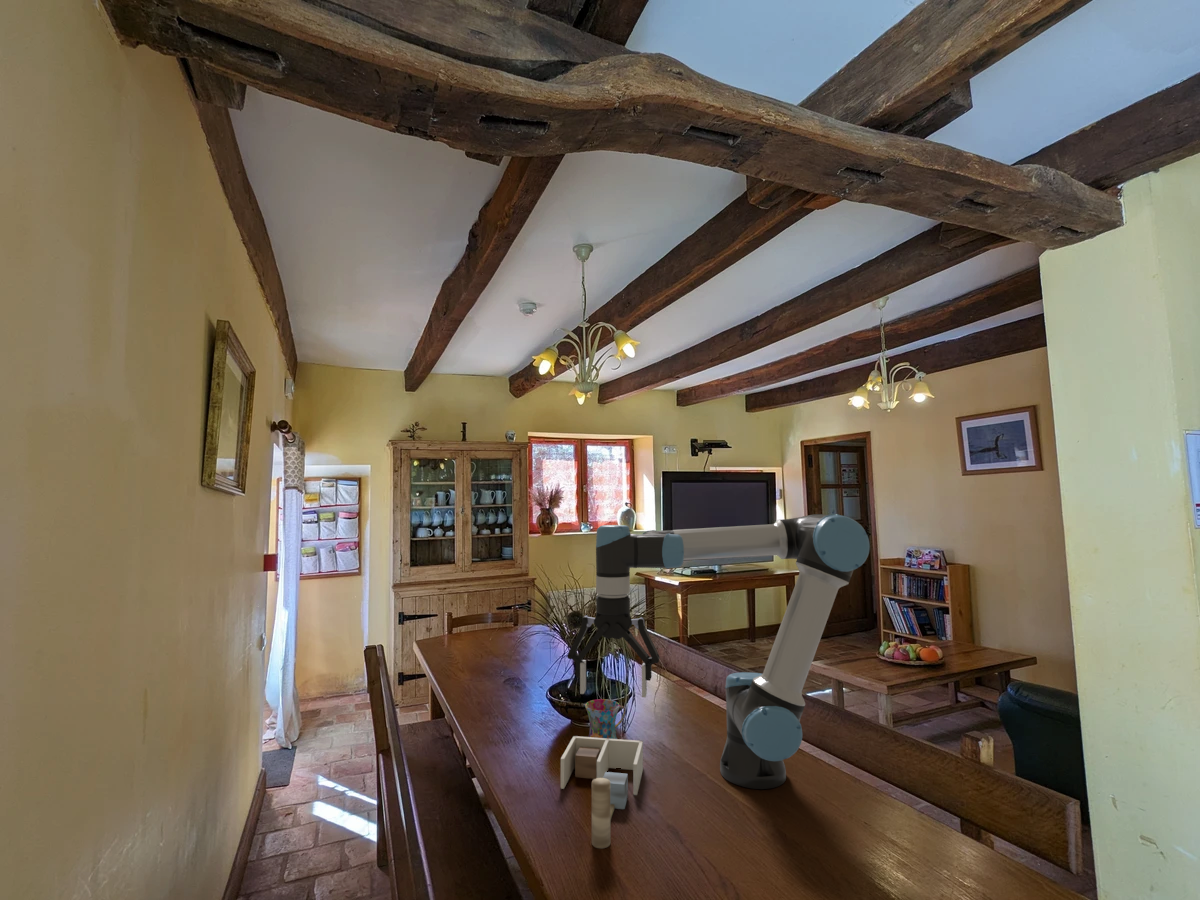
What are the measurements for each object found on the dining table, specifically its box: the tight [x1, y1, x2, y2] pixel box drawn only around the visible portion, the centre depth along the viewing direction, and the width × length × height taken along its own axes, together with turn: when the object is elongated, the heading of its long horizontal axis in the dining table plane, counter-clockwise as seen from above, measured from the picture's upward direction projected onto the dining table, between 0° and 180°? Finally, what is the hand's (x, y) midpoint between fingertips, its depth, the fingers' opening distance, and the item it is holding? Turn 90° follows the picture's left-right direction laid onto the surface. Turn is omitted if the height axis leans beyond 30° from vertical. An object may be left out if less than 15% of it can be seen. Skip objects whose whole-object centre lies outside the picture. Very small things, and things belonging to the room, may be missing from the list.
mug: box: [584, 698, 627, 739], centre depth 155 cm, size 12×9×11 cm
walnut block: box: [574, 747, 600, 780], centre depth 139 cm, size 5×5×5 cm
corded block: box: [591, 771, 629, 849], centre depth 119 cm, size 20×5×11 cm, turn 169°
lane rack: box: [560, 735, 644, 796], centre depth 136 cm, size 13×17×6 cm
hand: (613, 693), depth 127 cm, fingers open, 13 cm apart
